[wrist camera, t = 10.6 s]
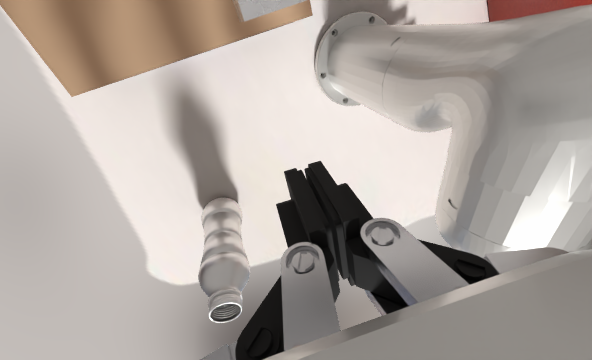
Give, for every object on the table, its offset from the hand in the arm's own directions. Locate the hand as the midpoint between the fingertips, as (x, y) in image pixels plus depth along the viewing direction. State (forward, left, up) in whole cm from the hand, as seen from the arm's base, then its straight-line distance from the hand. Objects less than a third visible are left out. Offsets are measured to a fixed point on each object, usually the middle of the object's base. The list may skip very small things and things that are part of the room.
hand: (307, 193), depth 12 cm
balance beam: (+4, -9, -21) cm, 23 cm away
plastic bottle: (+12, +19, -29) cm, 37 cm away
